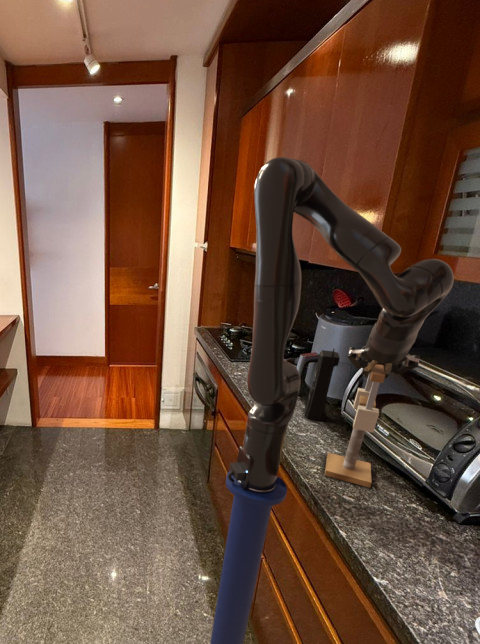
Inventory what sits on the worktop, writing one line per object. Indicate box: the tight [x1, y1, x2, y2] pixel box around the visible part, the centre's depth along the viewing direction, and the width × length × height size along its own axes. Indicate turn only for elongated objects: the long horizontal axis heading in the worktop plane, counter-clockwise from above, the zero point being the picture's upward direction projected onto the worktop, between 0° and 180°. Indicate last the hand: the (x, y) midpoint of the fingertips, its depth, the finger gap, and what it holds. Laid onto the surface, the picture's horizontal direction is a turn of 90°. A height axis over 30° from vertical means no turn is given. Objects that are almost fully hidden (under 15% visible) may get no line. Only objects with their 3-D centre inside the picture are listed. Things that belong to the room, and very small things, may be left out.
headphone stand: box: [324, 396, 377, 489], centre depth 99 cm, size 10×10×21 cm
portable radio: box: [303, 348, 341, 422], centre depth 129 cm, size 8×6×25 cm
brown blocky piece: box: [352, 364, 386, 433], centre depth 94 cm, size 4×15×14 cm, turn 148°
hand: (373, 375), depth 94 cm, fingers closed on brown blocky piece, 2 cm apart
